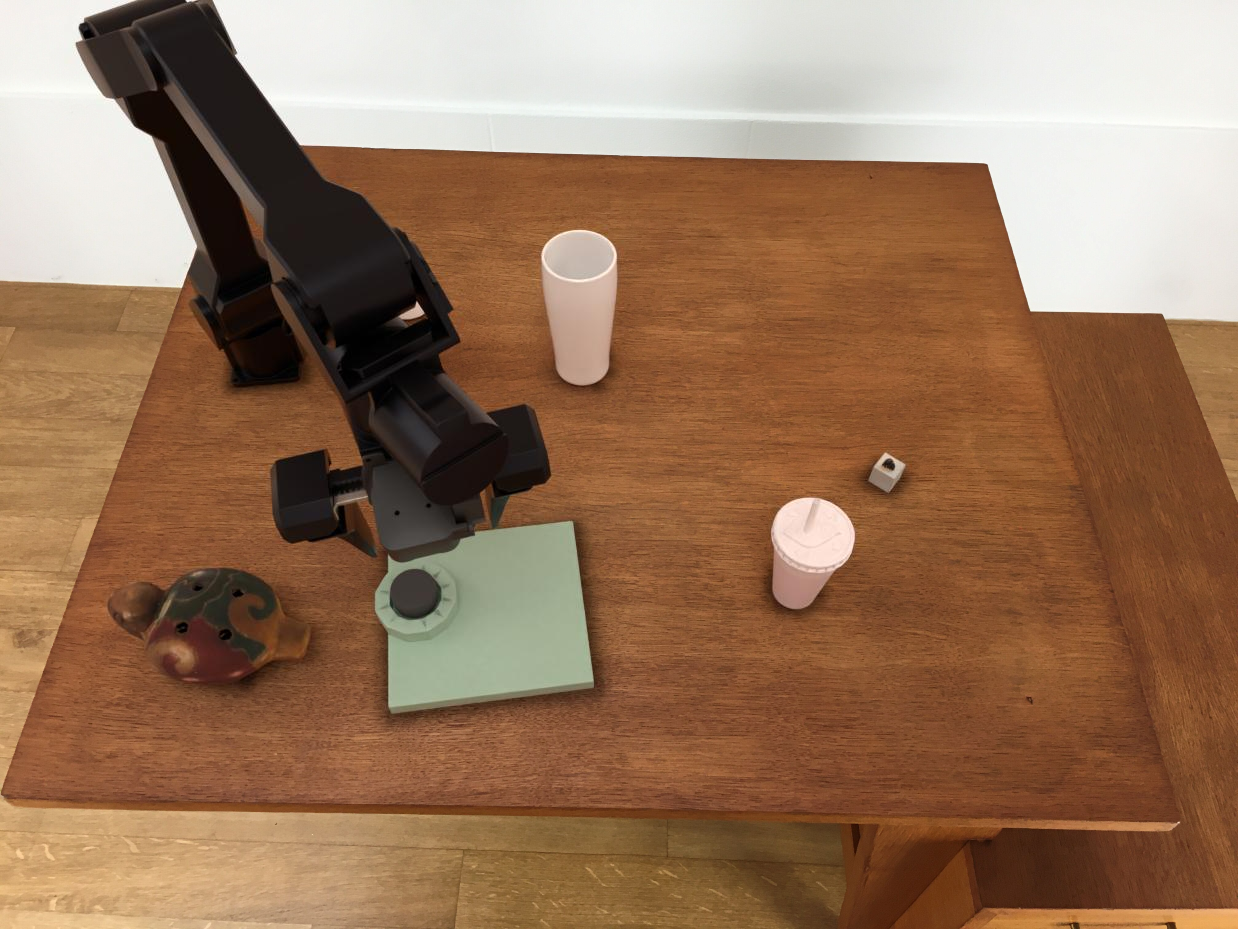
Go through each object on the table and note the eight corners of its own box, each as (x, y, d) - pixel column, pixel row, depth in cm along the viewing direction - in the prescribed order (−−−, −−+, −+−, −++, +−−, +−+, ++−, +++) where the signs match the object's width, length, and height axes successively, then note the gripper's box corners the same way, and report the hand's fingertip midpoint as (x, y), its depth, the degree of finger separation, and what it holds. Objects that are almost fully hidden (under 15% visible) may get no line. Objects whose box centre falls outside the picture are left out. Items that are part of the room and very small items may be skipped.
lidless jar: (405, 329, 99) (442, 303, 101) (400, 309, 97) (438, 283, 99) (375, 305, 101) (412, 280, 103) (369, 284, 98) (407, 259, 101)
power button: (393, 621, 77) (389, 611, 76) (393, 581, 79) (389, 571, 78) (439, 615, 78) (436, 605, 76) (437, 576, 80) (434, 566, 78)
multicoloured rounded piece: (150, 592, 81) (119, 540, 75) (332, 604, 82) (316, 553, 76) (110, 700, 75) (73, 653, 69) (306, 712, 76) (287, 666, 70)
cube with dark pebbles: (867, 481, 89) (874, 465, 87) (879, 466, 90) (885, 450, 88) (888, 493, 88) (895, 477, 86) (899, 478, 89) (907, 462, 87)
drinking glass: (608, 399, 94) (609, 287, 82) (541, 388, 95) (531, 275, 82) (622, 348, 98) (624, 234, 86) (557, 337, 99) (550, 223, 86)
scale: (381, 715, 76) (374, 701, 73) (382, 550, 84) (375, 532, 82) (594, 688, 77) (593, 673, 75) (573, 528, 86) (572, 510, 83)
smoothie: (750, 559, 84) (773, 467, 72) (823, 554, 84) (857, 462, 73) (763, 626, 80) (789, 540, 69) (839, 621, 81) (877, 535, 69)
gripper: (243, 534, 55) (319, 661, 68) (558, 460, 58) (577, 595, 70) (239, 398, 62) (309, 535, 74) (521, 337, 65) (544, 479, 77)
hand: (434, 538), depth 74 cm, fingers open, 9 cm apart
